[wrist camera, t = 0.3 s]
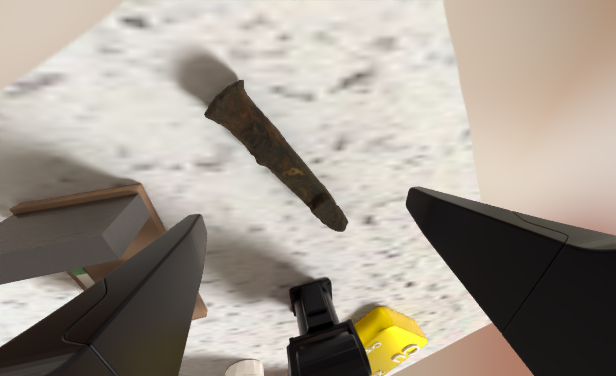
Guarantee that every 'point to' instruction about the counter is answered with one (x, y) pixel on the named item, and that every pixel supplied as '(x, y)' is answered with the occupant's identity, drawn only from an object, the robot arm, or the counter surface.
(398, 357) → the element tile
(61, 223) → the dark grey slab
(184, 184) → the counter surface
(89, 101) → the counter surface
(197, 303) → the gauge base
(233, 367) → the white cup
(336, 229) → the hand tool
